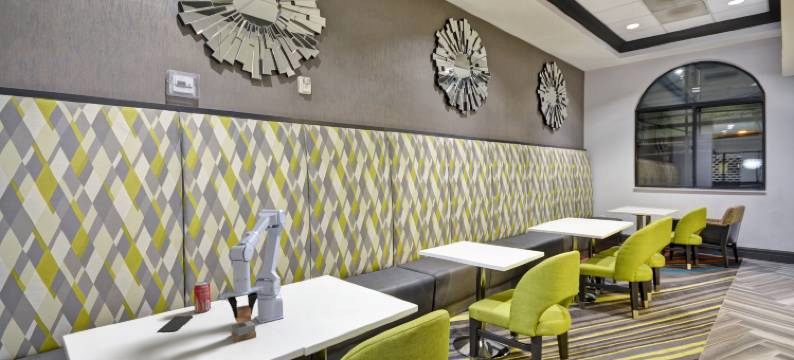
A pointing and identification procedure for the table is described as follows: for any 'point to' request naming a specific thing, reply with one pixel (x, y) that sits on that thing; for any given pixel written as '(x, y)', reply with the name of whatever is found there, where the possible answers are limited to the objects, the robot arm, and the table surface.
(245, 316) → the terracotta block
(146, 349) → the table surface
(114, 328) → the table surface
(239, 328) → the tower top
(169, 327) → the phone
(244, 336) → the tower base
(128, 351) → the table surface
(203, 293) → the soda can
